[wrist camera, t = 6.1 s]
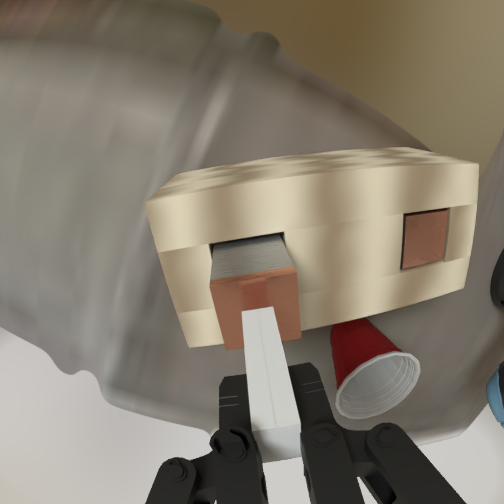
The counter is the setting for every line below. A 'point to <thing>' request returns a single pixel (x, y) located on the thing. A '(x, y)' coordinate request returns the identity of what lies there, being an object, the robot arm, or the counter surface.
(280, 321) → the peg near
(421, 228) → the peg far
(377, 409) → the plastic cup
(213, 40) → the counter surface
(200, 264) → the collar block
